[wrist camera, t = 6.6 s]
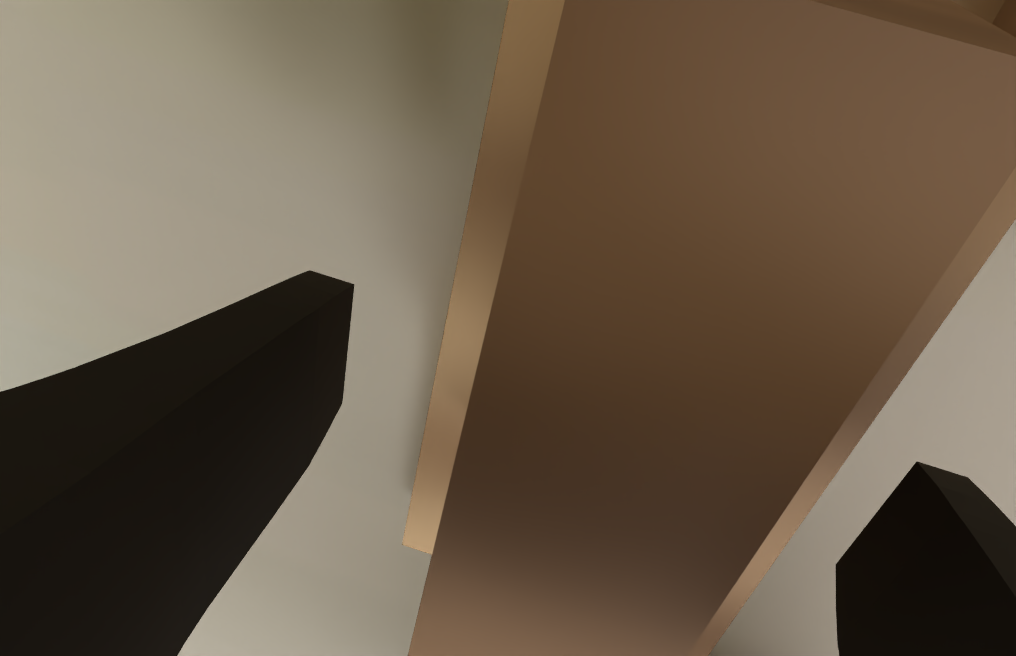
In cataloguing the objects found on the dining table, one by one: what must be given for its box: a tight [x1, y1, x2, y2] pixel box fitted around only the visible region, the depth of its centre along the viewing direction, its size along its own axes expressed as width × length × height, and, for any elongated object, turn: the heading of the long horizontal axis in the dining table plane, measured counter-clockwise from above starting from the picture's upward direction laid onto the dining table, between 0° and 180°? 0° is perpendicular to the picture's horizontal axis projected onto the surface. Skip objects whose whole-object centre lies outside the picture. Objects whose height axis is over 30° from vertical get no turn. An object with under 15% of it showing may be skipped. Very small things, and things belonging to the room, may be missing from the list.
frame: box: [408, 0, 1016, 656], centre depth 10 cm, size 10×3×6 cm, turn 168°
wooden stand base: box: [402, 0, 1016, 656], centre depth 12 cm, size 18×7×4 cm, turn 168°
